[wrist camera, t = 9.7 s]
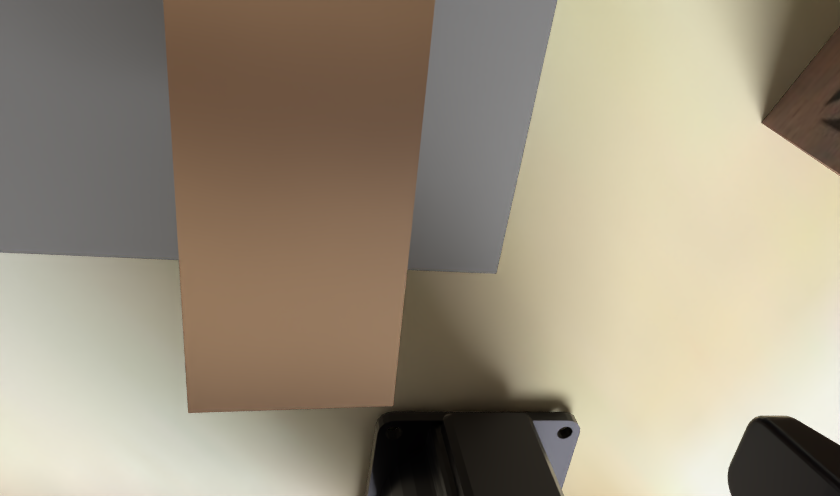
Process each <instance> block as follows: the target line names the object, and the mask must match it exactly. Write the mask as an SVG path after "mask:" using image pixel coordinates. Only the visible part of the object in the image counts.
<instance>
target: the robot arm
mask: <svg viewBox="0 0 840 496" xmlns="http://www.w3.org/2000/svg"><path fill="white" fill-rule="evenodd" d="M391 427H399V428H397V429H396V430H392V431H390V430H388V429H389V428H391ZM562 427H566V428H565V429H563V430H559V429H561V428H562ZM579 433H580V427H579V425H578V423H577V421H576V419H575V417H574V415H572V414H571V413H567V412H388V413H386V414H384V415H382V416H381V417H380V418H379V419H378V420H377V423H376V427H375V433H374V440H373V446H372V453H371V459H370V466H369V472H368V479H367V485H366V492H365V496H564V495H563V492H562V487H563V483H564V480H565V477H566V474H567V471H568V468H569V465H570V461H571V458H572V455H573V452H574V449H575V446H576V443H577V439H578V436H579ZM728 485H729V489H730V493H731V495H732V496H840V445H838V444H837V443H835V442H833V441H832V440H830V439H828V438H827V437H825V436H823V435H822V434H820V433H818V432H817V431H815V430H813V429H812V428H810V427H808V426H806V425H805V424H803V423H801V422H800V421H798V420H796V419H794V418H792V417H789V416H758V417H755V418H754V419H753V420H752V421H750V422H749V424H748V426H747V428H746V430H745V432H744V435H743V437H742V439H741V441H740V443H739V446H738V448H737V450H736V452H735V455H734V457H733V459H732V461H731V463H730V466H729V470H728Z"/></svg>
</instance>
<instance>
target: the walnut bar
mask: <svg viewBox="0 0 840 496" xmlns="http://www.w3.org/2000/svg"><path fill="white" fill-rule="evenodd" d="M163 7H164V23H165V40H166V56H167V73H168V89H169V105H170V122H171V138H172V155H173V171H174V187H175V204H176V220H177V237H178V253H179V269H180V286H181V302H182V319H183V335H184V352H185V368H186V384H187V401H188V413H201V412H231V411H261V410H291V409H321V408H351V407H381V406H393V403H394V394H395V384H396V374H397V365H398V355H399V346H400V336H401V326H402V317H403V307H404V297H405V288H406V278H407V268H408V259H409V249H410V239H411V230H412V220H413V210H414V201H415V191H416V181H417V172H418V162H419V152H420V143H421V133H422V123H423V114H424V104H425V95H426V85H427V75H428V66H429V56H430V46H431V37H432V27H433V17H434V8H435V0H163Z"/></svg>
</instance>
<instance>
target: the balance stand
mask: <svg viewBox="0 0 840 496" xmlns="http://www.w3.org/2000/svg"><path fill="white" fill-rule="evenodd" d="M556 3H557V0H435V8H434V17H433V27H432V37H431V46H430V56H429V66H428V75H427V85H426V95H425V104H424V114H423V123H422V133H421V143H420V152H419V162H418V172H417V181H416V191H415V201H414V210H413V220H412V230H411V239H410V249H409V259H408V268H407V270H423V271H447V272H470V273H493V274H496V272H497V268H498V264H499V259H500V255H501V250H502V246H503V241H504V237H505V232H506V228H507V223H508V219H509V214H510V210H511V205H512V201H513V196H514V192H515V187H516V183H517V178H518V174H519V169H520V165H521V160H522V156H523V151H524V147H525V142H526V138H527V133H528V129H529V124H530V120H531V116H532V111H533V107H534V102H535V98H536V93H537V89H538V84H539V80H540V75H541V71H542V66H543V62H544V57H545V53H546V48H547V44H548V39H549V35H550V30H551V26H552V21H553V17H554V12H555V8H556ZM0 252H3V253H27V254H50V255H73V256H97V257H120V258H143V259H167V260H179V253H178V237H177V220H176V204H175V187H174V171H173V155H172V138H171V122H170V105H169V89H168V73H167V56H166V40H165V23H164V7H163V0H0Z"/></svg>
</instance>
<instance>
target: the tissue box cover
mask: <svg viewBox="0 0 840 496" xmlns="http://www.w3.org/2000/svg"><path fill="white" fill-rule="evenodd" d="M762 124H764V125H765V126H767V127H768V128H770V129H771V130H773V131H774V132H776V133H777V134H779V135H780V136H782V137H783V138H785V139H786V140H788V141H789V142H790V143H792V144H793V145H795V146H796V147H798V148H799V149H801V150H802V151H804V152H805V153H807V154H808V155H810V156H811V157H813V158H814V159H816V160H817V161H819V162H820V163H821V164H823V165H824V166H826V167H827V168H829V169H830V170H832V171H833V172H835V173H836V174H838V175H839V176H840V26H839V28H838V29H837V30H836V31H835V32H834V34H833V35H832V36H831V37H830V39H829V40H828V41H827V42H826V44H825V45H824V46H823V47H822V49H821V50H820V51H819V52H818V54H817V55H816V56H815V57H814V58H813V60H812V61H811V62H810V63H809V65H808V66H807V67H806V68H805V70H804V71H803V72H802V73H801V75H800V76H799V77H798V78H797V80H796V81H795V82H794V83H793V84H792V86H791V87H790V88H789V89H788V91H787V92H786V93H785V94H784V96H783V97H782V98H781V99H780V101H779V102H778V103H777V104H776V105H775V107H774V108H773V109H772V110H771V112H770V113H769V114H768V115H767V117H766V118H765V119H764V120H763V122H762Z"/></svg>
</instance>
